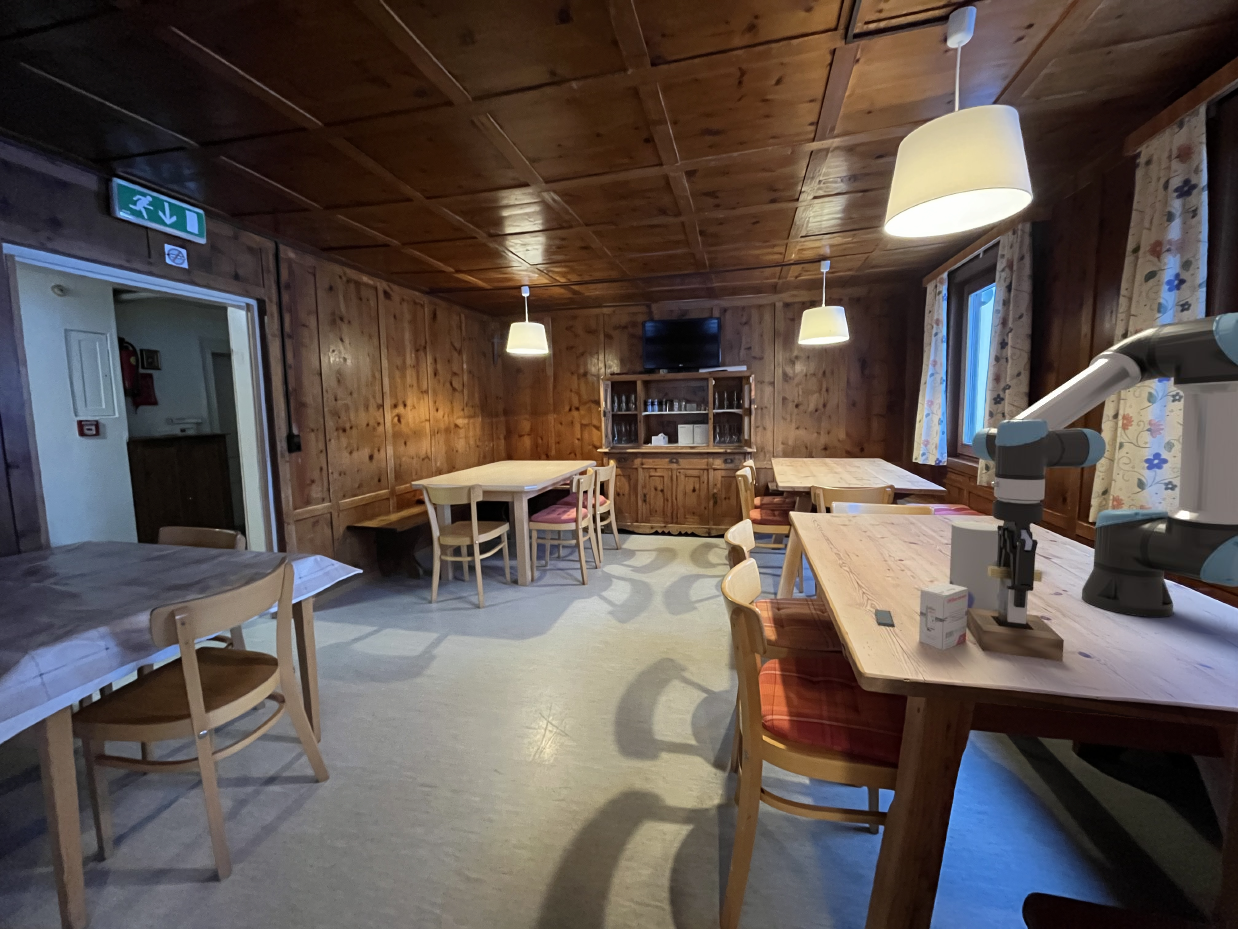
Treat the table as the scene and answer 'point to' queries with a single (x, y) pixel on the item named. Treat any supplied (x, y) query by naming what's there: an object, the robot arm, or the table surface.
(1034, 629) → the block
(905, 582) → the table surface
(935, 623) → the ink box
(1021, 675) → the table surface
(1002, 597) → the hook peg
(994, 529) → the container
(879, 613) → the mat
